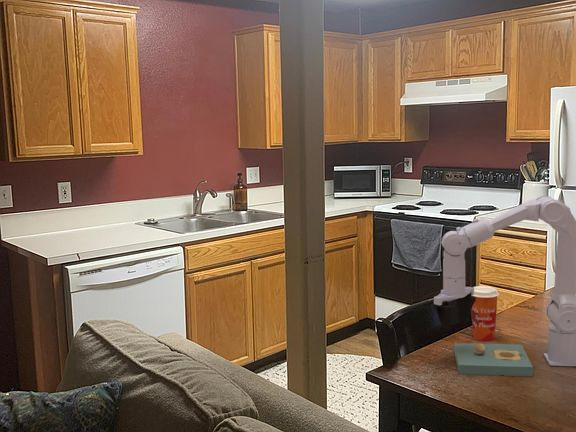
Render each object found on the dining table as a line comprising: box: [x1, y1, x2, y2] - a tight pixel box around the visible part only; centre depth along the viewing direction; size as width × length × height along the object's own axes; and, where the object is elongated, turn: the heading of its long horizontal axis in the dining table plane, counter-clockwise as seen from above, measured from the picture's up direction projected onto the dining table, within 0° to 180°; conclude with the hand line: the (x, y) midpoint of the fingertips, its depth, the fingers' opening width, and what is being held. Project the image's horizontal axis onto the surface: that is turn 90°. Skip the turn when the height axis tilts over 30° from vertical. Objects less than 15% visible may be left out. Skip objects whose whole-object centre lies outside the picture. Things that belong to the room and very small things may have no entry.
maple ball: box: [474, 342, 485, 354], centre depth 164 cm, size 3×3×3 cm
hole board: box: [453, 342, 534, 377], centre depth 164 cm, size 18×16×2 cm
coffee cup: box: [471, 285, 500, 342], centre depth 182 cm, size 8×8×15 cm
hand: (454, 325), depth 166 cm, fingers open, 7 cm apart
